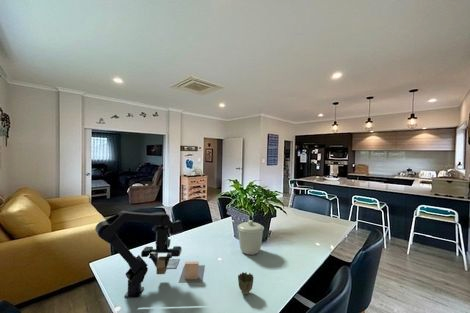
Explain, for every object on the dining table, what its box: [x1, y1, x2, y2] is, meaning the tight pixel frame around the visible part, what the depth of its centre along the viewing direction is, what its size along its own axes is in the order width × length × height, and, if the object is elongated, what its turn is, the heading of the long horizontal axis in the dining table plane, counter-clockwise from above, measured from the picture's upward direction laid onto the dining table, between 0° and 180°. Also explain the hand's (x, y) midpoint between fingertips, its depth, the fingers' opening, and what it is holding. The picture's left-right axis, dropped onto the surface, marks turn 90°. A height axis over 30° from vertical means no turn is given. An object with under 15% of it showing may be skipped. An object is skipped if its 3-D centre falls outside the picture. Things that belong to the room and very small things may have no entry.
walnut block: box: [156, 255, 168, 275], centre depth 106 cm, size 4×4×7 cm
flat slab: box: [184, 261, 200, 279], centre depth 108 cm, size 2×7×8 cm, turn 94°
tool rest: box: [167, 258, 180, 270], centre depth 122 cm, size 10×10×1 cm
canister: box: [237, 219, 265, 256], centre depth 141 cm, size 18×18×21 cm
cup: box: [237, 271, 255, 296], centre depth 98 cm, size 8×7×8 cm
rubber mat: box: [178, 264, 206, 284], centre depth 113 cm, size 16×12×1 cm
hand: (161, 268), depth 106 cm, fingers closed on walnut block, 4 cm apart
